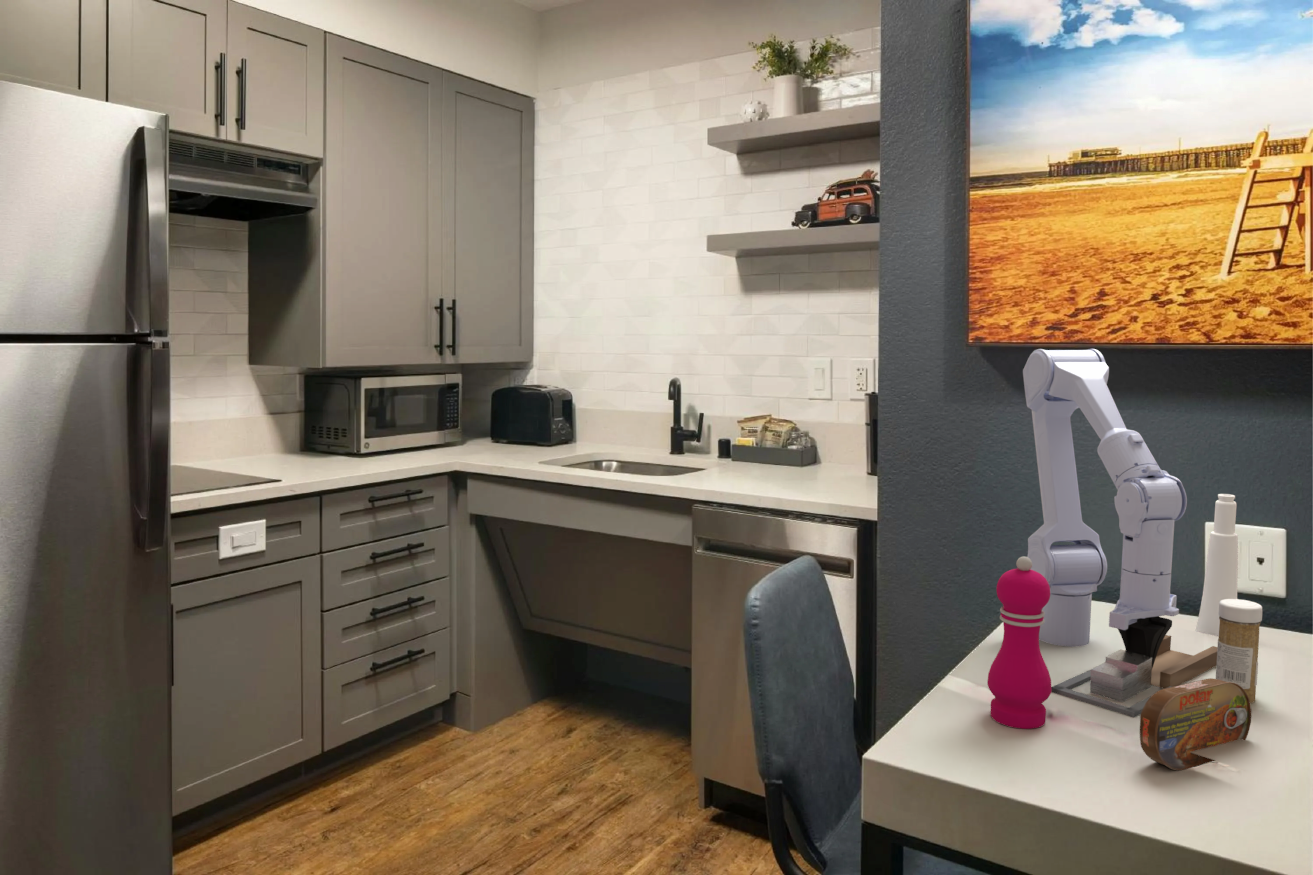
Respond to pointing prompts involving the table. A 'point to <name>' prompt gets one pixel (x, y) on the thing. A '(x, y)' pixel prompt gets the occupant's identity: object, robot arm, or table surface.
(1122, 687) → the light grey cube
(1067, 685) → the tray
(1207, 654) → the slot board
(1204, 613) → the cosmetic bottle
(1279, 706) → the table surface
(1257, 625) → the sprinkles bottle
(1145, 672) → the grey cube
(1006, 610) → the pepper mill
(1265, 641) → the table surface
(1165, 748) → the tin
